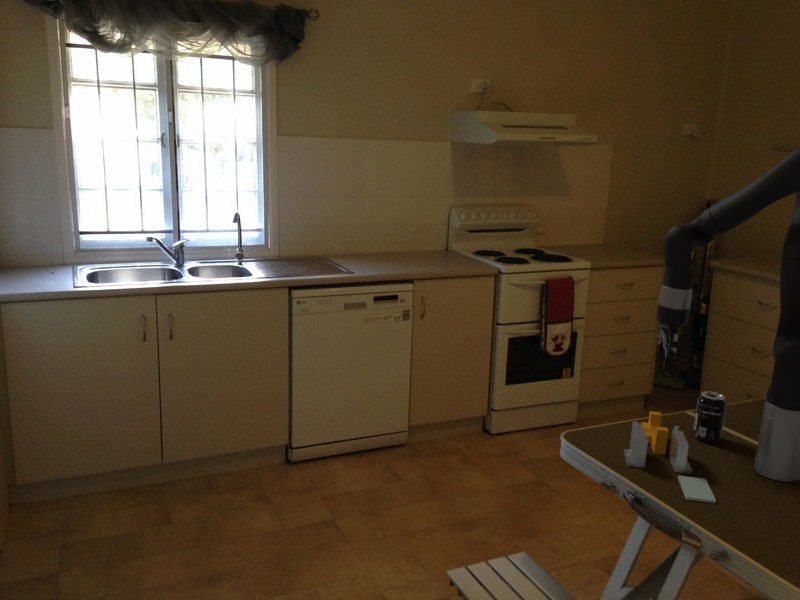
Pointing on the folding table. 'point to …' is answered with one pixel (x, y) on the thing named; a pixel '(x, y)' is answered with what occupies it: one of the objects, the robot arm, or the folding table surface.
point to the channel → (639, 449)
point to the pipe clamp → (656, 433)
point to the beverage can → (709, 416)
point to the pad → (696, 489)
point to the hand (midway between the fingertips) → (664, 365)
